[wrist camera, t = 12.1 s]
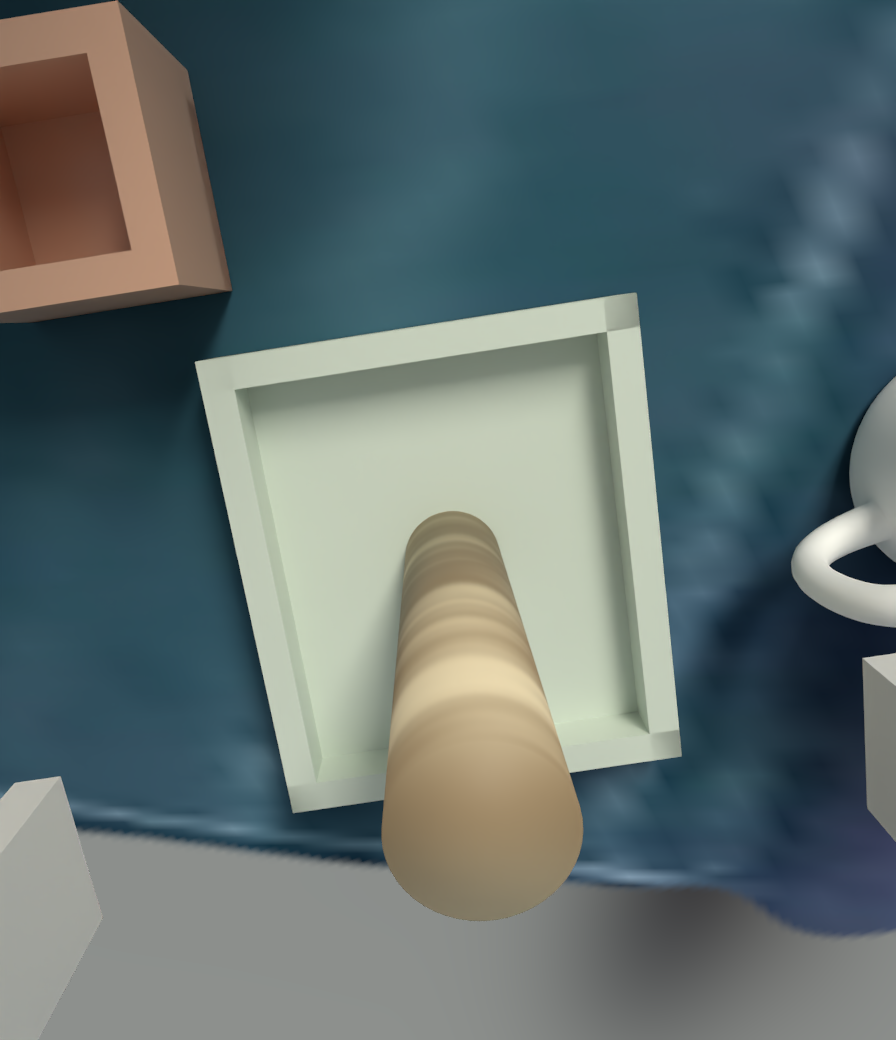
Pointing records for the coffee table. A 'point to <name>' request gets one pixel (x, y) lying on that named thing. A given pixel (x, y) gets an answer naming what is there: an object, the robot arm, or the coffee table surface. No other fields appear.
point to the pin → (472, 738)
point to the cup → (858, 524)
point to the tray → (439, 488)
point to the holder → (99, 170)
